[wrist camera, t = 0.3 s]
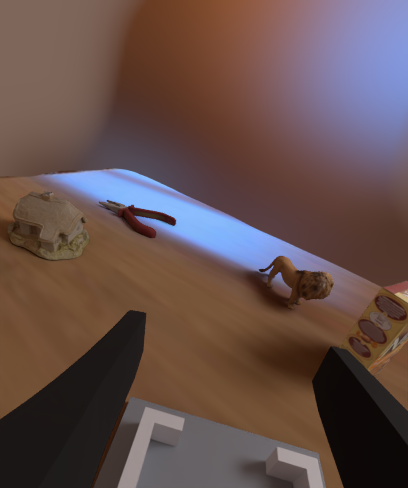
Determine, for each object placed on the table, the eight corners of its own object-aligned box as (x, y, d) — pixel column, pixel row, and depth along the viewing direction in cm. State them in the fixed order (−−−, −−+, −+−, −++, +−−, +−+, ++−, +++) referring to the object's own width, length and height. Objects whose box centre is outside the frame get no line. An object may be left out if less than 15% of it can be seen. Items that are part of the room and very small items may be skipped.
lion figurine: (321, 315, 46) (345, 278, 42) (305, 324, 43) (329, 284, 39) (265, 269, 56) (280, 235, 51) (249, 274, 53) (263, 238, 48)
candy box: (347, 394, 33) (421, 312, 26) (322, 366, 36) (381, 285, 29) (379, 372, 37) (450, 297, 30) (354, 349, 40) (413, 276, 33)
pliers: (117, 200, 71) (118, 192, 70) (176, 226, 66) (178, 217, 65) (85, 211, 61) (85, 201, 60) (151, 241, 56) (153, 231, 55)
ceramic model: (100, 238, 52) (102, 193, 47) (69, 266, 42) (67, 213, 37) (36, 221, 52) (30, 174, 47) (-11, 246, 42) (-24, 190, 37)
